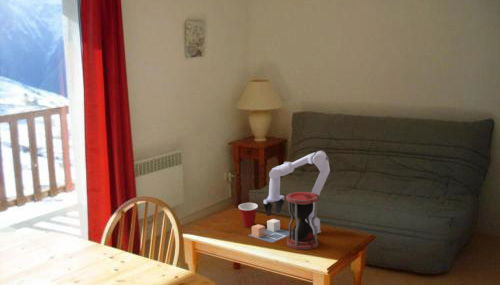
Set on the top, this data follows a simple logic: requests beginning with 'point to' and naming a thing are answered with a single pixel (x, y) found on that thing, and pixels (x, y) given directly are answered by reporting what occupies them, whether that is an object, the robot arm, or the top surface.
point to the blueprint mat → (273, 235)
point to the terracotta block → (258, 230)
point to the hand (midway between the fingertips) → (273, 214)
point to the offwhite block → (273, 225)
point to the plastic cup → (248, 213)
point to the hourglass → (302, 220)
